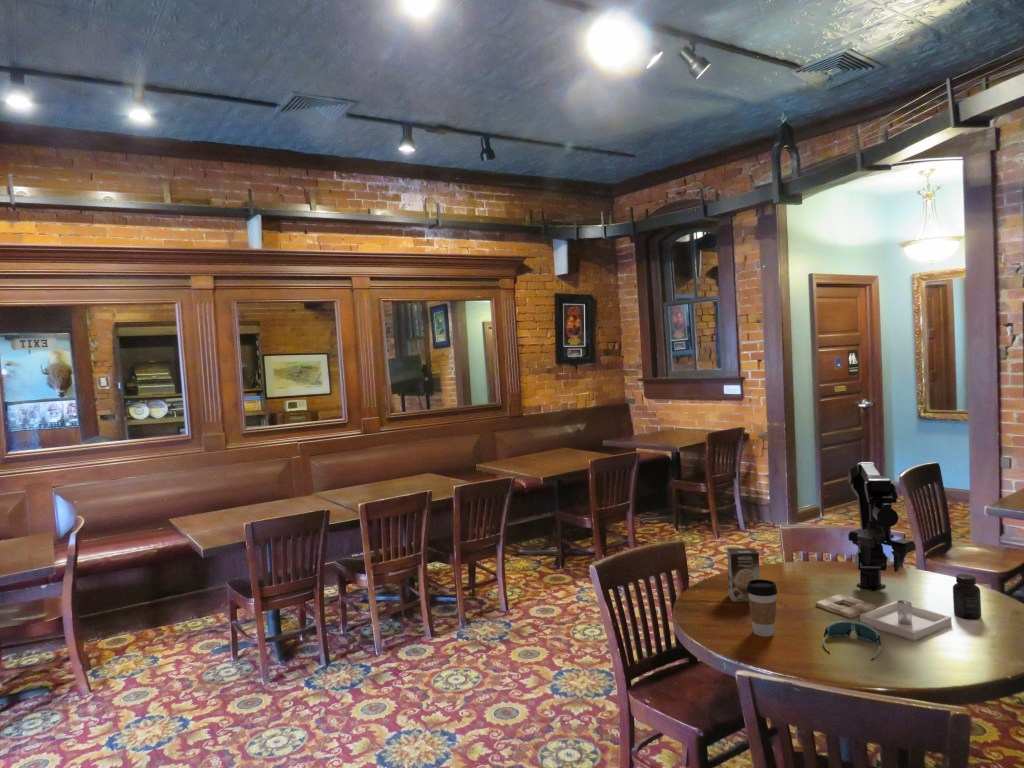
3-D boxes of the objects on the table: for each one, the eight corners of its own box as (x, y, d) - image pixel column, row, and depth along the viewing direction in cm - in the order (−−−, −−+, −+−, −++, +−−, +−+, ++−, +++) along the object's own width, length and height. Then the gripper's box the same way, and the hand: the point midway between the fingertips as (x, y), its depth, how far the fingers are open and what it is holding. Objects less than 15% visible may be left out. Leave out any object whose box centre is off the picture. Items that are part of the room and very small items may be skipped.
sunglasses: (882, 640, 190) (881, 624, 190) (880, 670, 178) (879, 653, 177) (826, 632, 198) (825, 616, 197) (821, 660, 185) (820, 644, 184)
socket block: (840, 597, 222) (840, 593, 222) (875, 608, 212) (874, 604, 211) (815, 606, 216) (815, 602, 216) (850, 617, 206) (850, 614, 206)
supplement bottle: (983, 615, 202) (982, 575, 202) (979, 622, 197) (978, 581, 197) (956, 610, 207) (954, 571, 206) (951, 617, 202) (950, 577, 201)
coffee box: (732, 602, 224) (730, 553, 223) (728, 595, 230) (725, 548, 229) (761, 601, 223) (759, 553, 222) (756, 594, 229) (754, 547, 228)
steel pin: (902, 619, 202) (901, 599, 201) (914, 623, 198) (914, 602, 198) (895, 622, 200) (894, 602, 200) (907, 626, 197) (906, 605, 196)
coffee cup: (764, 641, 194) (762, 589, 193) (742, 631, 201) (740, 581, 201) (785, 633, 198) (783, 583, 197) (762, 624, 205) (760, 575, 204)
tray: (897, 608, 210) (897, 600, 210) (951, 625, 196) (951, 617, 196) (860, 623, 202) (860, 614, 202) (914, 641, 188) (913, 632, 188)
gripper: (836, 517, 216) (838, 565, 217) (893, 529, 200) (894, 581, 201) (858, 511, 222) (860, 558, 222) (915, 522, 205) (917, 573, 206)
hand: (881, 567), depth 213 cm, fingers open, 9 cm apart
